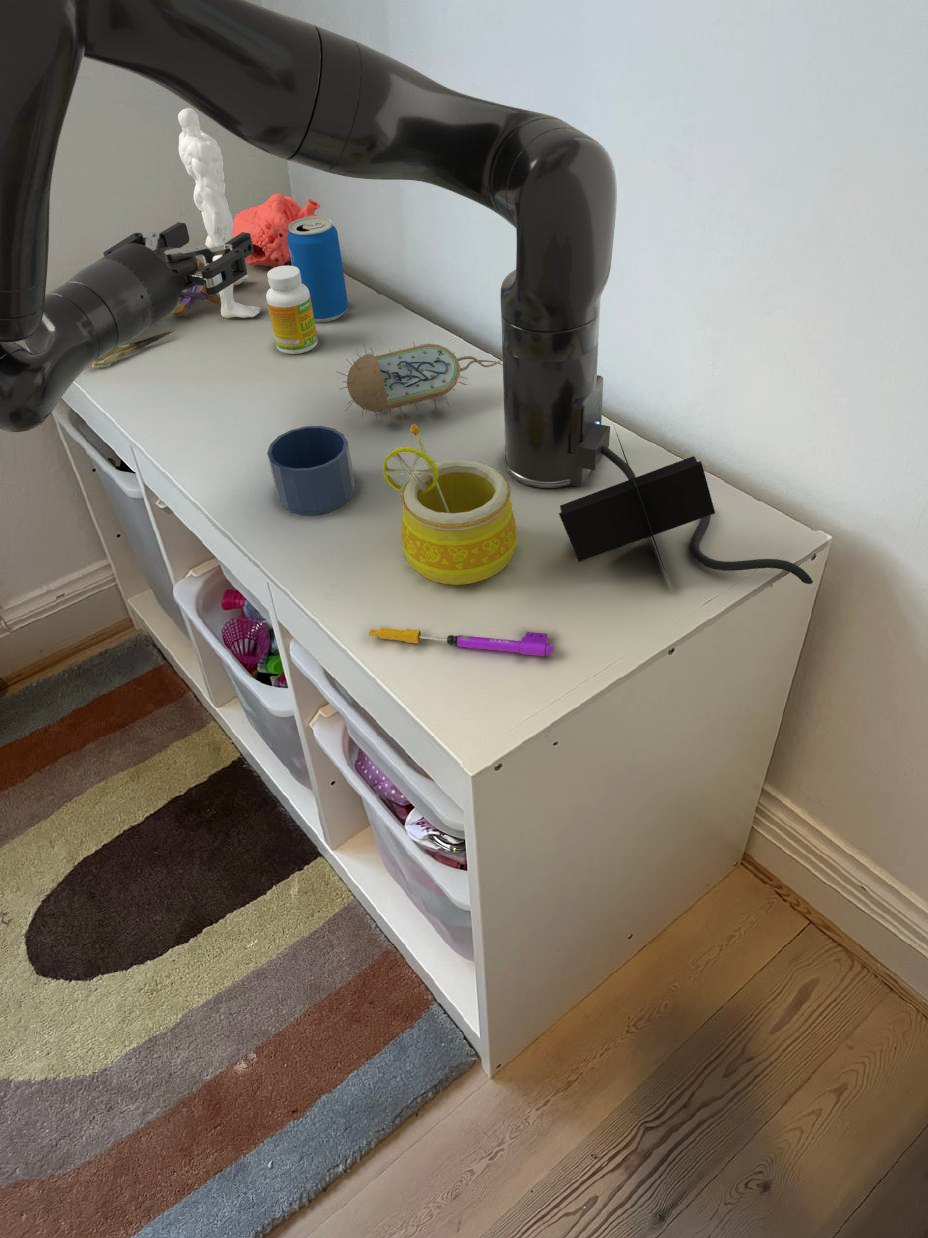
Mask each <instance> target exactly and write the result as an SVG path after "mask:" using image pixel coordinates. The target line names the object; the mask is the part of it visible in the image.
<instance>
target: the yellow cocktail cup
mask: <svg viewBox="0 0 928 1238" xmlns="http://www.w3.org/2000/svg"><path fill="white" fill-rule="evenodd" d="M409 431H410V432H411V434H413V435H414V437H415V439H416V442H417V444H418V447H419V449H416V448H414V447H411V446H410V447H409V446H402V447H397V448H395V449H393V450H392V451H390V452H389V453H388V454H387V455H386V456H385V457H384V460H383V465H382V474H383V477H384V479H385V481H386V482H387V483H388V485H389V486H390V487H391V488H393V489H394V490H396V491H397V492H398V493H400V494H401V503H402V506H403V508H402V512H401V515H402V516H401V517H402V518H401V545H402V550H403V553H404V556H405V559H406V561H407V562H408V564H409V565H410V567H411V568H412V569H413V570H415V572H416V573H418V575H421V576H422V577H424V578H426V579H428V580H430V581H433V582H436V583H440V584H444V585H458V586H459V585H460V586H461V585H468V584H474V583H477V582H481V581H485V580H487V579H490V578H492V577H493V576H495V575H497V574H498V573H500V572H502V570H503V569H504V568H505V567H507V566H508V564H509V562H510V561H511V559H512V558H513V556H514V553H515V552H516V551H515V550H516V547H517V544H518V532H517V531H518V530H517V524H516V519H515V514H514V511H513V504H512V500H511V497H510V496H511V487H510V485H509V482H508V480H507V479H506V478H505V476H503V473H502V474H501V473H500V472H499V471H498V470H496V469H495V468H494V467H491V466H490V465H487V464H485V463H482V462H479V461H474V460H465V459H464V460H462V459H455V460H445V461H441V462H438V463H435V460H433V459H432V458H431V457H430V456H429V455H428V453H427V452H426V449H425V446H424V444H423V442H422V438H421V435H420V428H419V426H418V425H417V424H415V423H413V424H411V425H410V430H409ZM402 453H409V454H414V455H415V456H414V459H413V462H412V466H411V468H410V467H409V465H408V464H407V463H406V461H405V459H403V457H402V456H401V454H402ZM391 458H394V460H396V461H397V462H398V464H399V465H401V467H402V468H404V469H401V468H390V467H388V461H389V460H390V459H391ZM421 458H422V459H423V460H424V462H425V464H426V467H424V468H422V469H415V466H416V465H417V463H418V462H419V460H420V459H421ZM407 468H408V469H407ZM391 475H407V476H406V477H405V479H404V481H403V482H402V484H401V485H399V484H397V483H396V482H395V481H394V480H393V479H392V478H391Z"/></svg>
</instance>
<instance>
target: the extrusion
mask: <svg viewBox="0 0 928 1238" xmlns="http://www.w3.org/2000/svg"><path fill="white" fill-rule="evenodd" d="M612 426H613V427H614V431H615V433H616V436H617V439H618V442H619V446H620V448H621V451H622V454H623V457H624V461H625V462H626V463H627V466H628V469H629V472H630V475H631V478H632V479H630V480H628V479H627V480H625V481H623V482H620V483H617V484H615V485H612V486H609V487H606V488H604V489H601V490H598V491H595V492H593V493H589V494H587V495H584V496H582V497H579V498H576V499H573V500H571V501H569V502H565V503H562V504H561V505H559V509H560V512H559V513H558V515H559V518H560V520H561V523H562V525H563V527H564V530H565V532H566V535H567V537H568V539H569V543H570V544H571V546H572V549H573V551H574V554H575V556H576V558H577V561H578V562H579V563H580V562H582V561H585V560H589V559H591V558H594V557H596V556H600V555H602V554H606V553H608V552H610V551H614V550H617V549H620V548H622V547H625V546H628V545H630V544H634V543H636V542H639V541H641V540H645V539H647V538H650V537H651V538H652V541H653V543H654V546H655V549H656V552H657V554H658V557H659V560H660V563H661V566H662V567H663V571H664V573H665V576H666V578H667V580H669V578H668V575H667V572H666V570H665V566H664V563H663V560H662V557H661V554H660V551H659V548H658V545H657V542H656V539H655V536H656V535H658V534H661V533H665V532H667V531H669V530H672V529H676V528H678V527H681V526H684V525H687V524H690V523H692V522H695V521H697V520H701V518H704V517H706V516H709V515H711V516H712V515H715V514H716V510H715V507H714V503H713V499H712V496H711V491H710V489H709V484H708V482H707V477H706V474H705V470H704V466H703V463H702V461H701V460H699V461H698V460H697V458H696V456H694V455H693V456H690V457H687V458H685V459H682V460H679V461H676V462H674V463H671V464H668V465H665V466H663V467H661V468H657V469H654V470H652V471H649V472H647V473H644V474H641V475H639V476H636V478H634V477H633V475H632V472H631V469H632V468H631V467H630V465H629V461H628V458H627V456H626V453H625V451H624V449H623V446H622V443H621V440H620V438H619V435H618V432H617V429H616V427H615V425H614V423H612ZM630 468H631V469H630Z"/></svg>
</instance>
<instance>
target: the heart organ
mask: <svg viewBox="0 0 928 1238" xmlns="http://www.w3.org/2000/svg"><path fill="white" fill-rule="evenodd" d="M319 209H321V204H320V203H319V202H318V201H316V200H313V199H312V198H308V199H307V201H306V204H305V206H304V207H303V208H302V207H301V205H299V203H298V202H297V201H295V200H294V199H293V198H292V197H291V196H287V195H285V196H284V194H282V193H280V192H277V193H274V194H272V195H271V196H270V197H269V198H268V199H267V200H266V201H265V202H263V203H262V204H260V205H257V206H251V207H250V208H249V207H248V208H246V209H243V210H241V211H240V212H237V213H236V214H235V217H234V219H233V225H234V227H233V238H234V237H236V236H237V235H239V234H240V233H242V232H245V233H249V234H250V235H251V239H252V244H253V249H254V252H253V253H252V254H251V255H249V256H248V257H246V258H245V262H246V263H247V265H252V266H253V267H256V266H260V267H261V266H264V267H271V268H275V267H279V266H284V265H285V264H286V263H289V262H291V257H290V252H289V246H288V241H287V234H288V232H289V228H288V227H289V224H290V223H291V222H293V221H295V220H297V219H300V218H303V217H309V216H318V214H315V212H316V210H319Z"/></svg>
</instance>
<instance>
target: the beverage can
mask: <svg viewBox="0 0 928 1238" xmlns="http://www.w3.org/2000/svg"><path fill="white" fill-rule="evenodd" d="M288 228H289V232H288V234H287V241H288V246H289V252H290V257H291V261H290V262H291V266H295V267H297V268H298V269H299V270H300V275H301V280H302V281H301V283H302V284H304V285H305V286H306V287H307V288H308V290H309V293H310V298H311V304H312V309H313V315H314V321H315V323H327V322H332V321H335V320H338V319H339V318H341V317H342V316H343V315H344V313H346V312H347V310H348V309H349V300H348V294H347V287H346V281H345V280H346V279H345V274H344V266H343V260H342V259H343V258H342V253H341V247H340V246H341V245H340V241H339V233H338V229H337V228H336V226H334V222H333V220H332V219H331V218H329V217H327V216H323V215H322V216H321V215H317V216H309V217H303V218H300V219H297V220H295V221H293V222H291V223H290V224H289V227H288Z"/></svg>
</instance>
